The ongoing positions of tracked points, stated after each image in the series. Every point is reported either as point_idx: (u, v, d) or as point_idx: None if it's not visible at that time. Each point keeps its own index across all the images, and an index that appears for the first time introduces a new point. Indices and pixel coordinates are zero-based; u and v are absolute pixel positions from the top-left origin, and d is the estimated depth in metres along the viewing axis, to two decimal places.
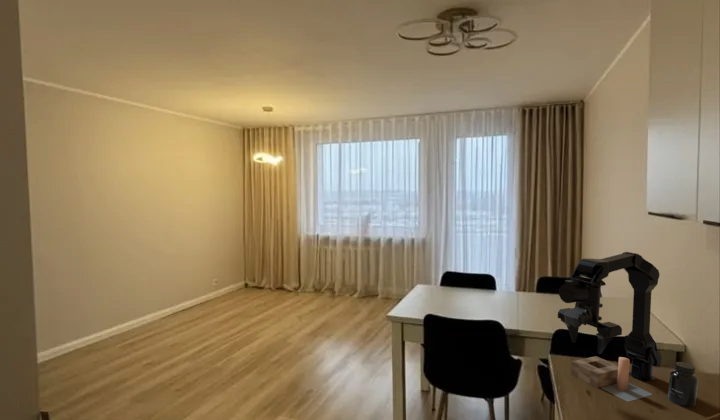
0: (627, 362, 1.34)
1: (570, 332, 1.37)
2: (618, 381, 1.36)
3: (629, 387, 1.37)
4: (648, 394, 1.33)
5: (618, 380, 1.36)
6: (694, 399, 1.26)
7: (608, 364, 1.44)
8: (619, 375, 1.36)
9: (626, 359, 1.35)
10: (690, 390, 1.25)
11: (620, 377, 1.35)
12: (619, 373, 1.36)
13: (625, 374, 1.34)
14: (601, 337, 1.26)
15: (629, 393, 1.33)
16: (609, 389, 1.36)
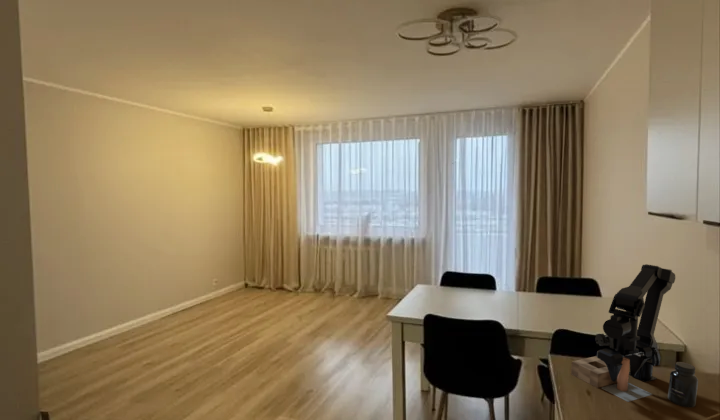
0: (627, 362, 1.34)
1: None
2: (618, 381, 1.36)
3: (629, 387, 1.37)
4: (648, 394, 1.33)
5: (618, 380, 1.36)
6: (694, 399, 1.26)
7: None
8: (619, 375, 1.36)
9: (626, 359, 1.35)
10: (690, 390, 1.25)
11: (620, 377, 1.35)
12: (619, 373, 1.36)
13: (625, 374, 1.34)
14: None
15: (629, 393, 1.33)
16: (609, 389, 1.36)
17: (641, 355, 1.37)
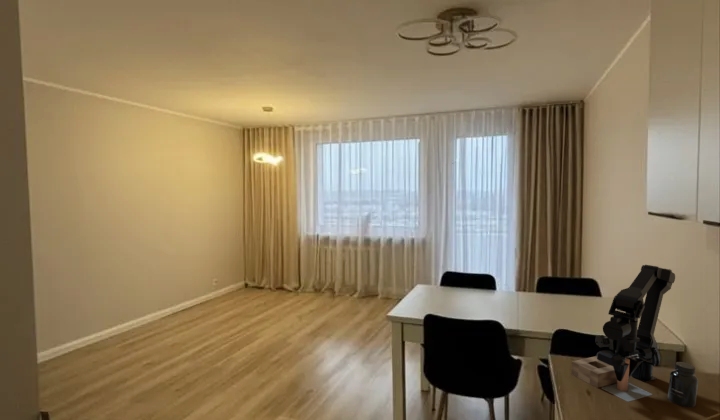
0: (627, 362, 1.34)
1: None
2: (618, 381, 1.36)
3: (629, 387, 1.37)
4: (648, 394, 1.33)
5: None
6: (694, 399, 1.26)
7: (608, 364, 1.44)
8: None
9: (626, 359, 1.35)
10: (690, 390, 1.25)
11: None
12: None
13: (625, 374, 1.34)
14: None
15: (629, 393, 1.33)
16: (609, 389, 1.36)
17: (635, 358, 1.35)
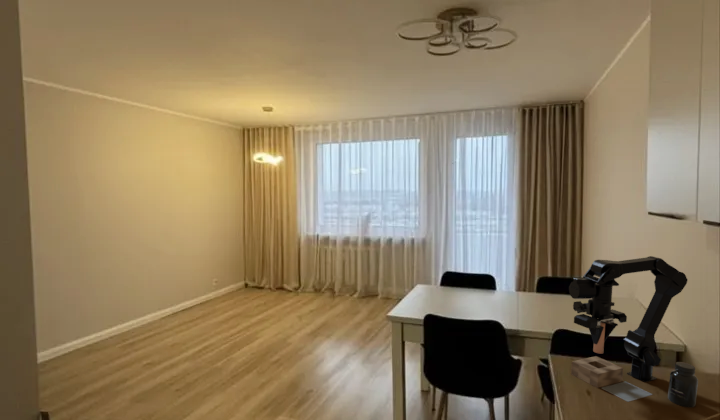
0: (603, 326, 1.41)
1: None
2: (594, 344, 1.43)
3: (629, 387, 1.37)
4: (648, 394, 1.33)
5: None
6: (694, 399, 1.26)
7: (608, 364, 1.44)
8: None
9: (602, 323, 1.42)
10: (690, 390, 1.25)
11: None
12: None
13: (601, 337, 1.41)
14: None
15: (629, 393, 1.33)
16: (609, 389, 1.36)
17: (610, 322, 1.42)
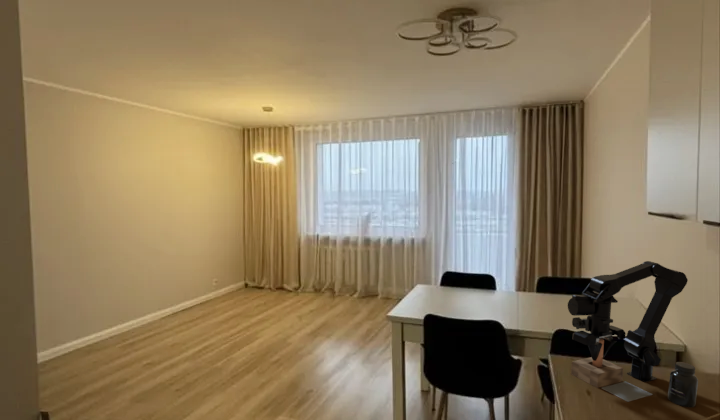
0: (601, 342, 1.41)
1: None
2: (593, 360, 1.43)
3: (629, 387, 1.37)
4: (648, 394, 1.33)
5: None
6: (694, 399, 1.26)
7: (608, 364, 1.44)
8: None
9: (601, 339, 1.42)
10: (690, 390, 1.25)
11: None
12: None
13: (600, 353, 1.41)
14: None
15: (629, 393, 1.33)
16: (609, 389, 1.36)
17: (609, 338, 1.42)
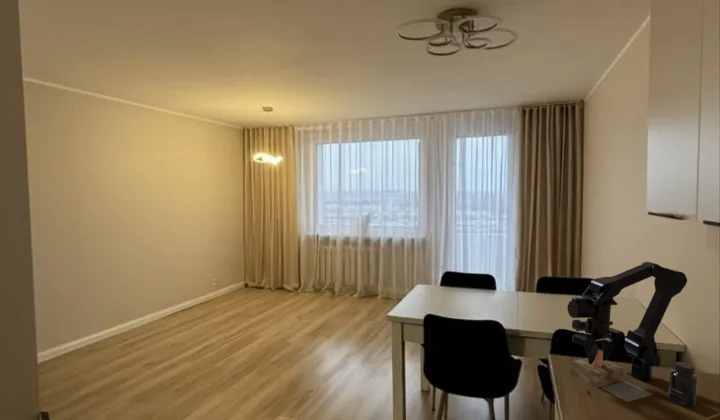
0: (600, 353, 1.41)
1: None
2: None
3: (629, 387, 1.37)
4: (648, 394, 1.33)
5: None
6: (694, 399, 1.26)
7: (608, 364, 1.44)
8: None
9: (600, 350, 1.43)
10: (690, 390, 1.25)
11: None
12: (593, 364, 1.43)
13: (599, 364, 1.42)
14: None
15: (629, 393, 1.33)
16: (609, 389, 1.36)
17: (612, 340, 1.43)
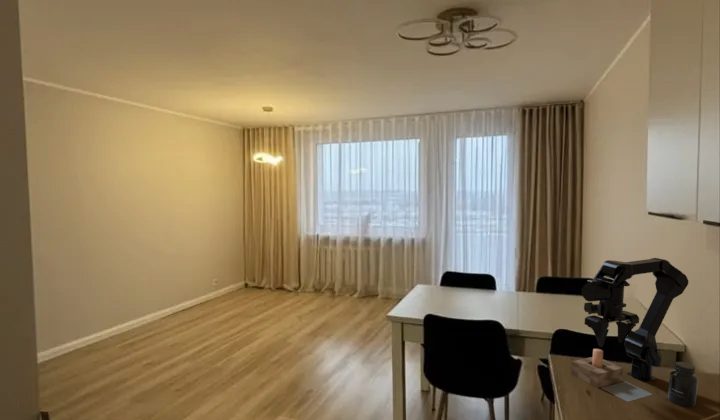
0: (600, 353, 1.41)
1: None
2: None
3: (629, 387, 1.37)
4: (648, 394, 1.33)
5: None
6: (694, 399, 1.26)
7: (608, 364, 1.44)
8: None
9: (600, 350, 1.43)
10: (690, 390, 1.25)
11: None
12: (593, 364, 1.43)
13: (599, 364, 1.42)
14: None
15: (629, 393, 1.33)
16: (609, 389, 1.36)
17: (628, 322, 1.41)
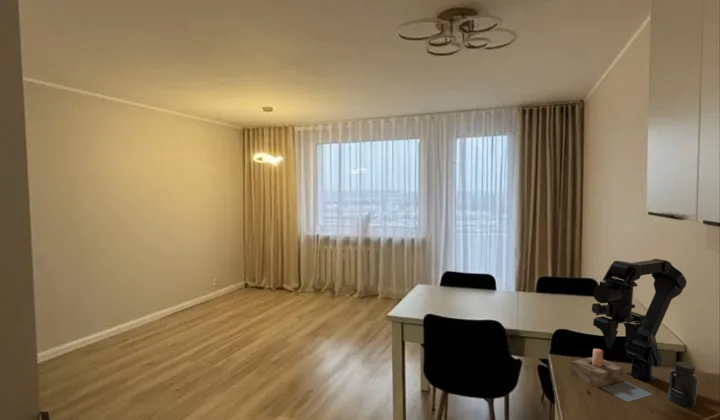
0: (600, 353, 1.41)
1: None
2: None
3: (629, 387, 1.37)
4: (648, 394, 1.33)
5: None
6: (694, 399, 1.26)
7: (608, 364, 1.44)
8: None
9: (600, 350, 1.43)
10: (690, 390, 1.25)
11: None
12: (593, 364, 1.43)
13: (599, 364, 1.42)
14: None
15: (629, 393, 1.33)
16: (609, 389, 1.36)
17: (636, 323, 1.40)
